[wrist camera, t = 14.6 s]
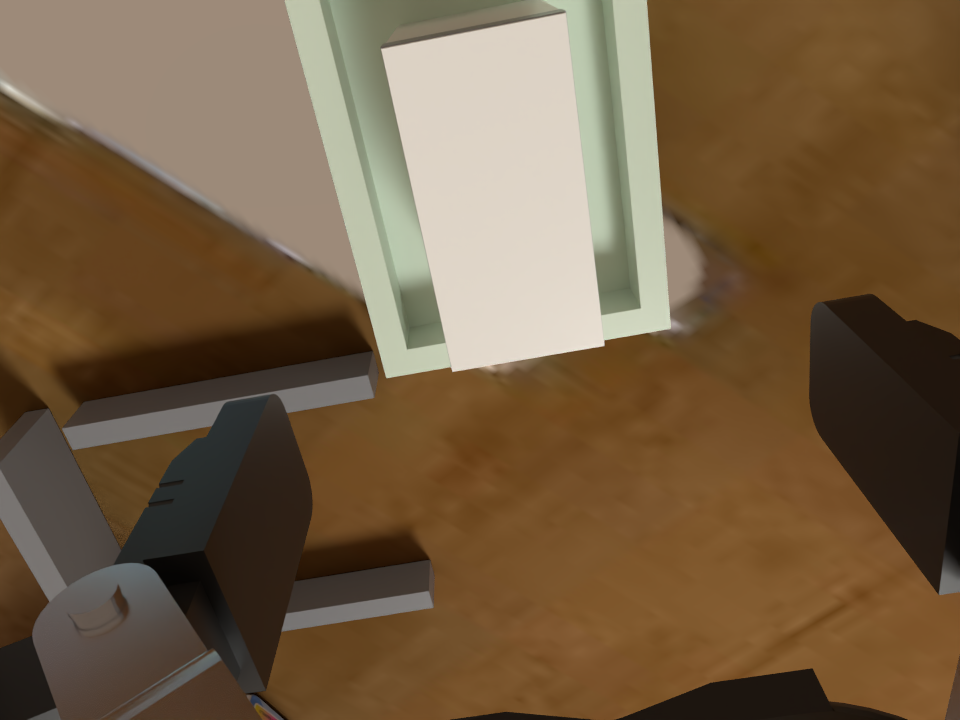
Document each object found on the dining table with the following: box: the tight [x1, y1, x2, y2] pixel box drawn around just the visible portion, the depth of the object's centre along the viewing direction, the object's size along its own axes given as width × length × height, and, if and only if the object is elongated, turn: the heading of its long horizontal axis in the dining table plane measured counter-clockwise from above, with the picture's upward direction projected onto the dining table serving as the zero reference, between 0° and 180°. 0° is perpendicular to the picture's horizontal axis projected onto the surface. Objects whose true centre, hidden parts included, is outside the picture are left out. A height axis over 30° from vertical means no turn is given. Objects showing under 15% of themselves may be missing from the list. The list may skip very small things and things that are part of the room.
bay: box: [0, 351, 434, 631], centre depth 32 cm, size 14×12×4 cm
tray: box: [284, 0, 671, 378], centre depth 26 cm, size 10×14×2 cm
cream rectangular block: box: [380, 0, 604, 372], centre depth 24 cm, size 4×9×7 cm, turn 10°
